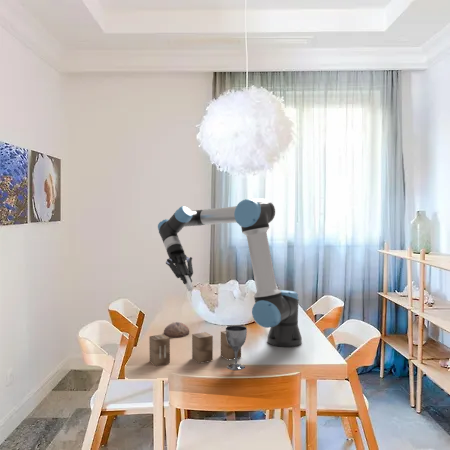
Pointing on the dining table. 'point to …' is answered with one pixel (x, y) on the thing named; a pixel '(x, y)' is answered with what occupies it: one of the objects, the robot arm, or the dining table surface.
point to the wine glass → (236, 342)
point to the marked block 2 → (227, 348)
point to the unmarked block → (202, 347)
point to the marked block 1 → (159, 349)
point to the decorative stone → (176, 330)
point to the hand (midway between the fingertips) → (190, 289)
